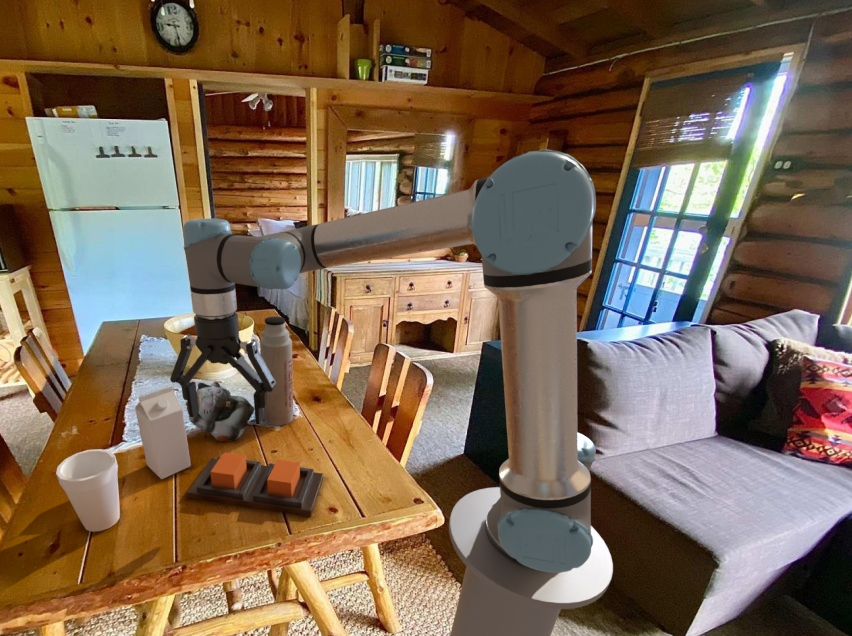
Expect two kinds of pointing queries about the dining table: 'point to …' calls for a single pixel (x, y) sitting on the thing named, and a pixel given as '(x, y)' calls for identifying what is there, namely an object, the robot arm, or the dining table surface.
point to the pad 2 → (283, 478)
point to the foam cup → (92, 487)
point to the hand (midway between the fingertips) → (226, 417)
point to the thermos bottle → (278, 371)
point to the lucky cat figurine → (221, 412)
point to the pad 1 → (228, 471)
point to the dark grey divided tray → (259, 490)
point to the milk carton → (163, 432)
